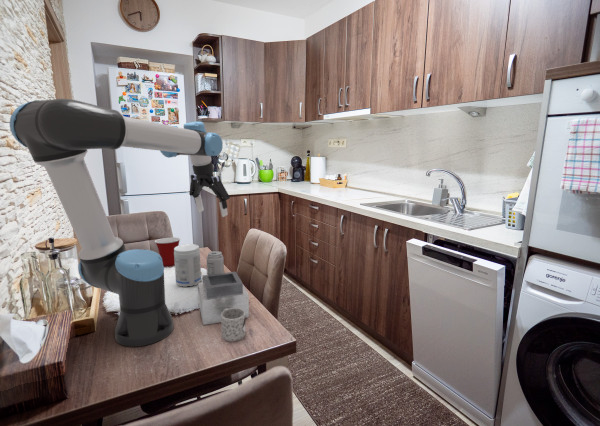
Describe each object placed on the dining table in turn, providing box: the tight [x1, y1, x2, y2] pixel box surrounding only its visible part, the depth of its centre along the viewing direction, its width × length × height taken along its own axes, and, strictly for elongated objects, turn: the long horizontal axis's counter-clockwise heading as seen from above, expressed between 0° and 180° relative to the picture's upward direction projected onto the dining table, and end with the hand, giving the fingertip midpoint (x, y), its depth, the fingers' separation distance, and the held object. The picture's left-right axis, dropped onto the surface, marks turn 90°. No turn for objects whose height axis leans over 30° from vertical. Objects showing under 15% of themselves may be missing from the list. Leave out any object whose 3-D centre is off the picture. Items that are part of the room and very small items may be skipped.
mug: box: [220, 308, 246, 342], centre depth 95 cm, size 10×7×7 cm
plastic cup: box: [154, 237, 181, 267], centre depth 149 cm, size 11×11×12 cm
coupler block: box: [197, 271, 250, 326], centre depth 107 cm, size 14×14×11 cm
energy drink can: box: [206, 250, 225, 275], centre depth 121 cm, size 6×6×15 cm
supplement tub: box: [174, 243, 202, 288], centre depth 129 cm, size 10×10×15 cm
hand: (212, 213), depth 135 cm, fingers open, 13 cm apart
